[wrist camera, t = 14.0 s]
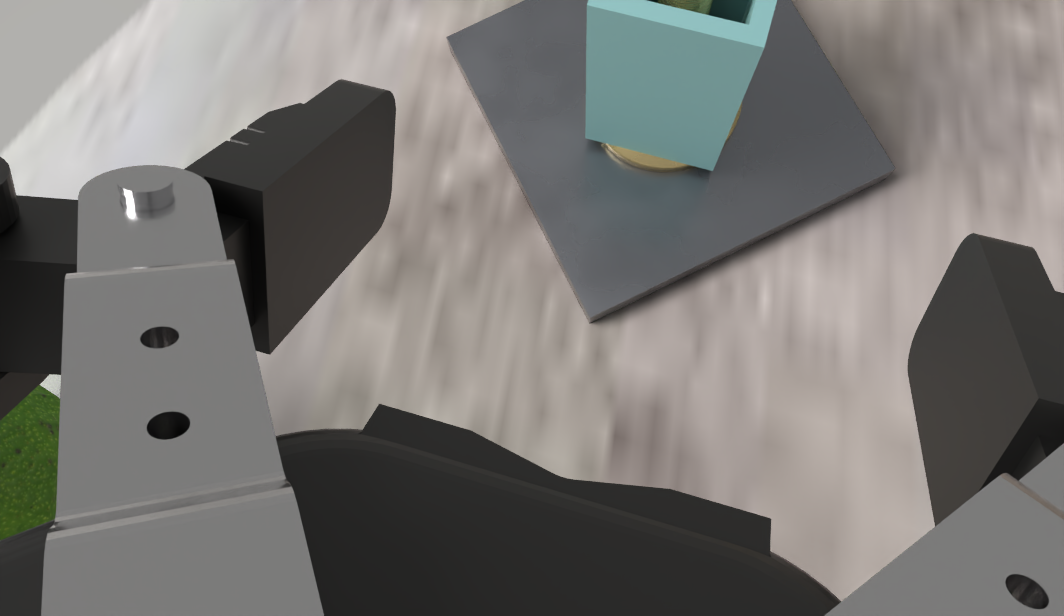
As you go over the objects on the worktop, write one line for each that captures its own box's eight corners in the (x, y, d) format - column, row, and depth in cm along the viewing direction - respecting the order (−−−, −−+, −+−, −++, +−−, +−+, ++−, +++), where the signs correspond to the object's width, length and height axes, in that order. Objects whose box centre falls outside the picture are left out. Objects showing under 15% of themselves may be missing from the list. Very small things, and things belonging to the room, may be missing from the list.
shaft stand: (726, -79, 39) (788, -322, 27) (885, 178, 36) (1031, 31, 24) (450, 51, 38) (392, -141, 27) (589, 323, 36) (593, 243, 24)
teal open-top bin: (620, 23, 36) (635, -147, 26) (745, 53, 36) (806, -110, 26) (585, 138, 35) (586, 5, 26) (712, 171, 35) (764, 47, 25)
